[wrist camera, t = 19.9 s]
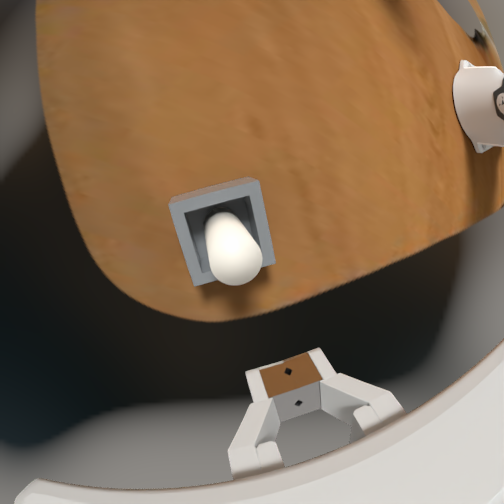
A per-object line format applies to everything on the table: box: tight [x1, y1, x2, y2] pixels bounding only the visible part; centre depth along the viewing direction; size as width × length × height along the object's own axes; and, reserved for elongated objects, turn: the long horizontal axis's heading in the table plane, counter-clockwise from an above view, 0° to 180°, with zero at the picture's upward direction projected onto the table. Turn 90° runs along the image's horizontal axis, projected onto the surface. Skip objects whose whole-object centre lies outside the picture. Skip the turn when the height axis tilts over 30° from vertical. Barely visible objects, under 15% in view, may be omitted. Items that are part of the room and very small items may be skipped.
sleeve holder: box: [168, 176, 276, 287], centre depth 30 cm, size 9×9×5 cm
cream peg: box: [203, 207, 262, 285], centre depth 26 cm, size 4×4×11 cm
